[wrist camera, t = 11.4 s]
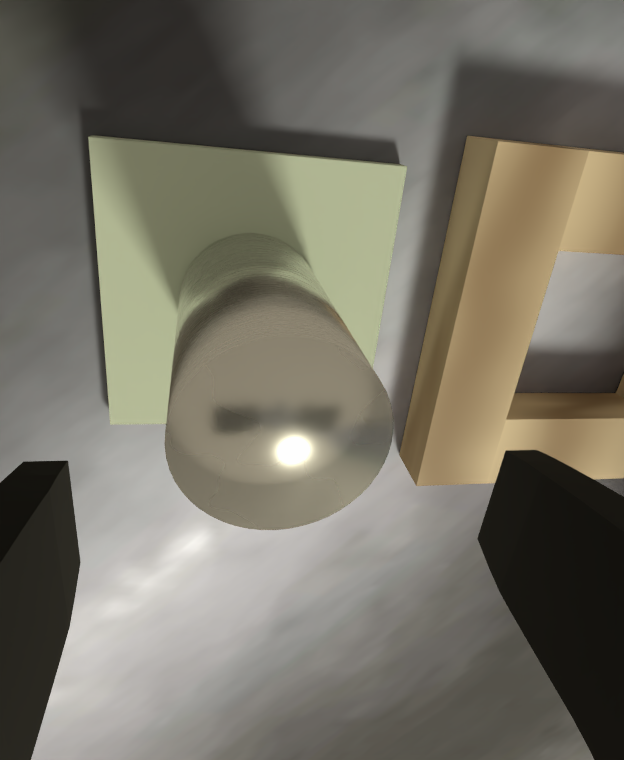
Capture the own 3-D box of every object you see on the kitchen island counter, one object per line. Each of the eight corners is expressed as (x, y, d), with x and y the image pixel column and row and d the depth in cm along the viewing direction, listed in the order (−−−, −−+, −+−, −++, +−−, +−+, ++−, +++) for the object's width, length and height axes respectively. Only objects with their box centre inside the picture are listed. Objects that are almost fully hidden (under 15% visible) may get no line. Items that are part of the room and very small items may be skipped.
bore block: (777, 169, 19) (834, 177, 18) (648, 448, 25) (682, 475, 23) (467, 135, 17) (498, 141, 15) (399, 455, 22) (416, 486, 21)
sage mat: (400, 164, 17) (406, 166, 16) (359, 413, 21) (363, 421, 20) (92, 135, 15) (88, 136, 14) (112, 415, 19) (110, 424, 19)
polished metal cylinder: (324, 237, 17) (411, 339, 10) (310, 365, 19) (375, 525, 12) (178, 228, 16) (161, 333, 9) (180, 363, 18) (167, 535, 11)
